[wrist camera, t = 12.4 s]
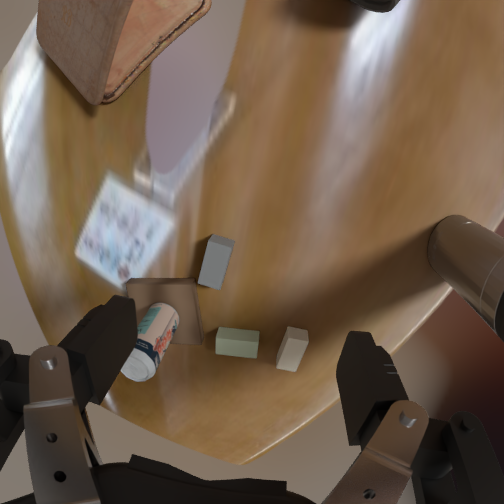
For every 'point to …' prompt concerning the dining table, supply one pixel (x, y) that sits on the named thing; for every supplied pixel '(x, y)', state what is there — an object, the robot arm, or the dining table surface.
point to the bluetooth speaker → (377, 5)
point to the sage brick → (237, 342)
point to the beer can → (151, 342)
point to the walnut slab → (177, 296)
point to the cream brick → (292, 349)
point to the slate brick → (216, 261)
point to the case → (111, 39)
